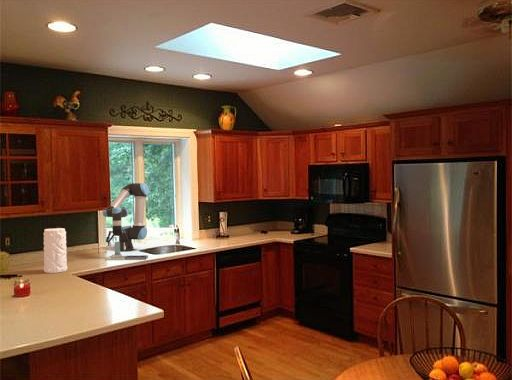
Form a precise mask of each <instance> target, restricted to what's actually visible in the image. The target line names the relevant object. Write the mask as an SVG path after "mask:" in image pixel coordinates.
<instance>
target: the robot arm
mask: <svg viewBox="0 0 512 380" xmlns="http://www.w3.org/2000/svg"><path fill="white" fill-rule="evenodd" d="M149 194H150V188H149V185H148V184H146V183H145V182H137V183H136V182H135V183H134V182H133V183H132V182H131V183H128V184H126V185H125V186H123V187H122V188H121V190H120V191H119V194H118V195H117V196H116V198H115V199H114V200H113V201H112V203H110V205H111V209H110V210H105V211H102V216H103V217H104V218H111V219H112V230H109V231H108V235H107V237H106V239H105V243H106V242H107V246H108V251H110V250H111V251H112V241H111V240H112V239H113V238H114V237H116V236H117V237H118V242H120V252H130V251H134V249H135V248H134V245H133V242H132V240H136V241H138V240H141V241H142V240H145V239H146V237H147V235H148V229H147V227H146V225H145V224H144V218H145V217H144V216H145V201H146V200H145V199H146V198H147V196H148V195H149ZM130 196H133V198H134V199H135V200H134V201H135V202H134V222H133V223H134V224H132V225H123V226H122V218H126V217H128V216H129V214H130V211H129V209H127V208H122V207H121V206H122V204H124V202H125V201H126V199H128V198H130ZM111 234H112V235H111Z"/></svg>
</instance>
